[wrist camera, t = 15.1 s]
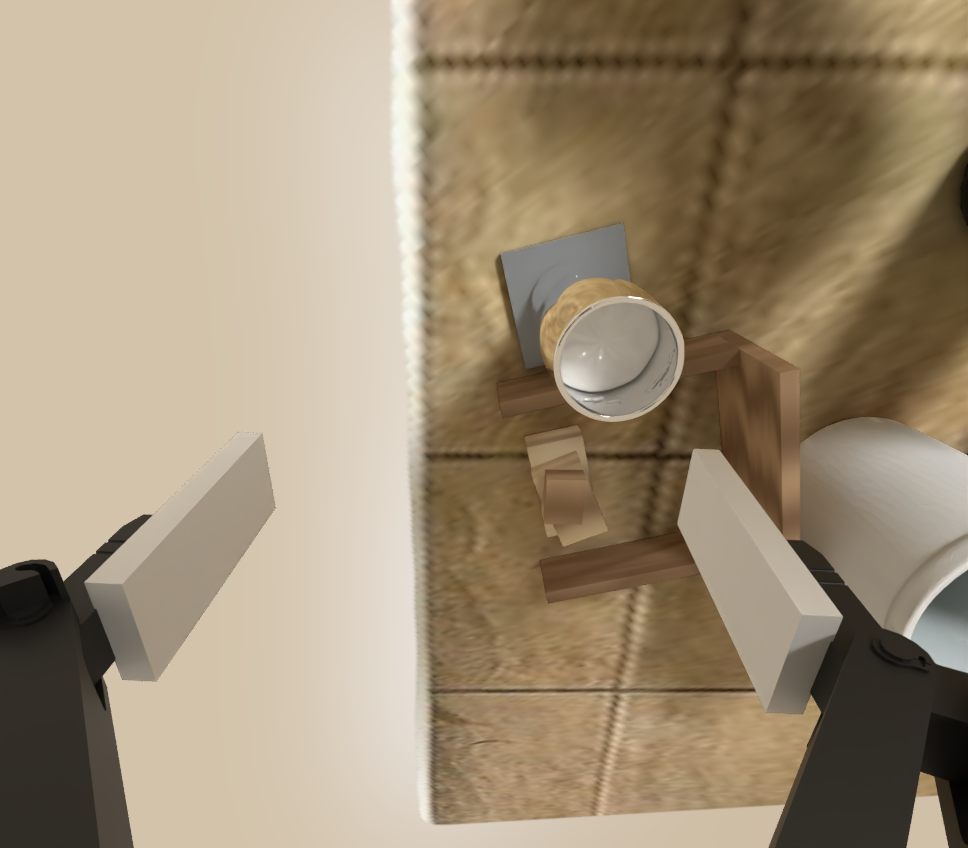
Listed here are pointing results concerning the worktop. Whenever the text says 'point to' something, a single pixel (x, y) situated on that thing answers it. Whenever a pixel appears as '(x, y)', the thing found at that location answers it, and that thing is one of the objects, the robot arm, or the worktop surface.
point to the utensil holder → (893, 527)
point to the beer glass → (605, 342)
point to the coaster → (534, 261)
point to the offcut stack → (564, 485)
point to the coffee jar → (965, 195)
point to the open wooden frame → (745, 444)
